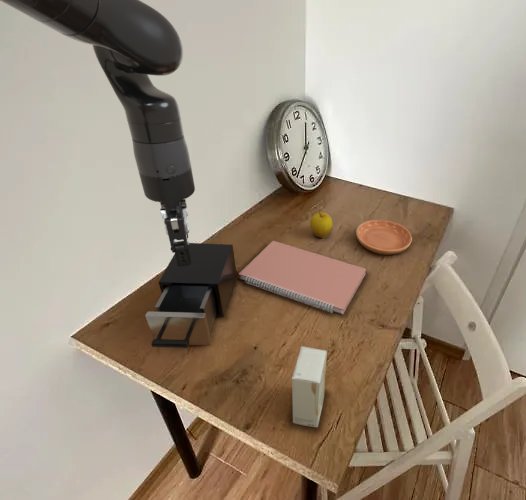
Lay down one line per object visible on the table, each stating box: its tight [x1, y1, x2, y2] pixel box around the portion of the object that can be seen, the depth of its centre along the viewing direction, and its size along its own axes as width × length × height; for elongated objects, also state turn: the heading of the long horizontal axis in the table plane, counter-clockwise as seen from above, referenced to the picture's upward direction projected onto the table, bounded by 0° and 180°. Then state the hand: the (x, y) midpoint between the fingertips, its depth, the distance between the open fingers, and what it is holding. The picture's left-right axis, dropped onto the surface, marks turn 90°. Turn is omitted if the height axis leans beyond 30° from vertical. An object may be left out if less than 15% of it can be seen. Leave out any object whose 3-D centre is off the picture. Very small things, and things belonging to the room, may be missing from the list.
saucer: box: [355, 219, 413, 256], centre depth 102 cm, size 16×16×3 cm
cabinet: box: [157, 242, 238, 318], centre depth 78 cm, size 14×12×10 cm
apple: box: [309, 209, 333, 239], centre depth 101 cm, size 6×6×8 cm
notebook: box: [238, 240, 367, 315], centre depth 87 cm, size 27×17×2 cm, turn 67°
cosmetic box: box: [291, 346, 328, 428], centre depth 57 cm, size 6×4×12 cm
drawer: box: [144, 285, 218, 349], centre depth 70 cm, size 17×10×8 cm, turn 1°
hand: (183, 251), depth 64 cm, fingers open, 8 cm apart
